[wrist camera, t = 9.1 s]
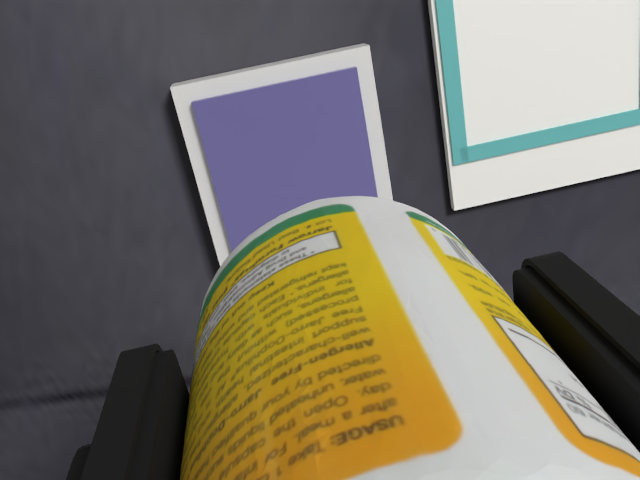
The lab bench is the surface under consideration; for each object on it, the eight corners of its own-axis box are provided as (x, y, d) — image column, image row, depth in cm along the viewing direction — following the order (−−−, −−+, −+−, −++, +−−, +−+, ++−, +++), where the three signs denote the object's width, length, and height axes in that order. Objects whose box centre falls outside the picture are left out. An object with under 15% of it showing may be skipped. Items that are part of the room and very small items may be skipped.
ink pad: (172, 83, 22) (169, 88, 21) (364, 43, 22) (370, 46, 21) (227, 281, 25) (227, 295, 24) (395, 243, 25) (402, 255, 24)
